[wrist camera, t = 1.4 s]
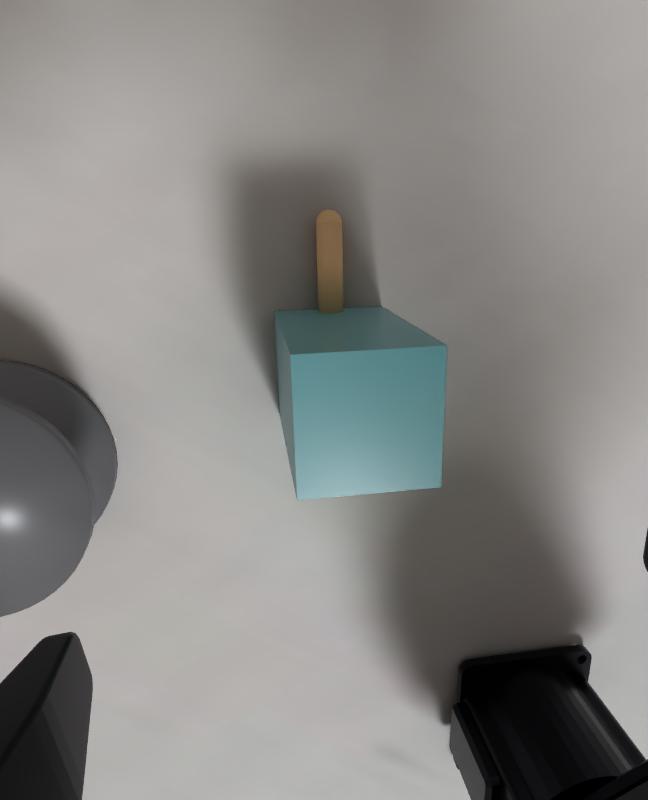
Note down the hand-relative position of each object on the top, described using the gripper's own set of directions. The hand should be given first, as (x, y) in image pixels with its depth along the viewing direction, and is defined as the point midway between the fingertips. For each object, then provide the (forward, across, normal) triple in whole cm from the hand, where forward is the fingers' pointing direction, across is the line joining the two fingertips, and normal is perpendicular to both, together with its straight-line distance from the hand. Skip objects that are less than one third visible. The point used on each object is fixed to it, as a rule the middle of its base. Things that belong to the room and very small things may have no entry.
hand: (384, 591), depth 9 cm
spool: (+14, +10, +3) cm, 17 cm away
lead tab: (+13, -2, -1) cm, 14 cm away
